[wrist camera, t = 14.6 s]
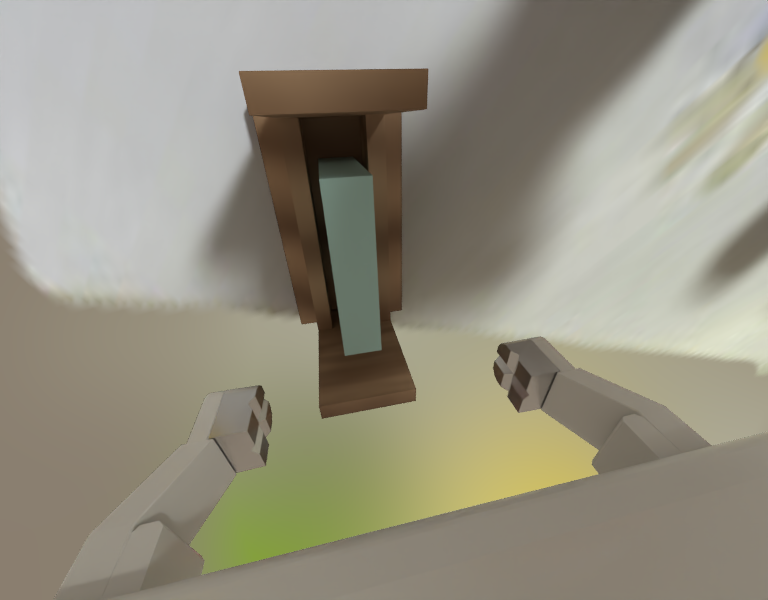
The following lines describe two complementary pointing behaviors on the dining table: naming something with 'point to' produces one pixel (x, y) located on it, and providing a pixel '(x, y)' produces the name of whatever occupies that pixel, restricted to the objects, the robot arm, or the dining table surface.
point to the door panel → (352, 250)
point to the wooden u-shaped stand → (306, 215)
